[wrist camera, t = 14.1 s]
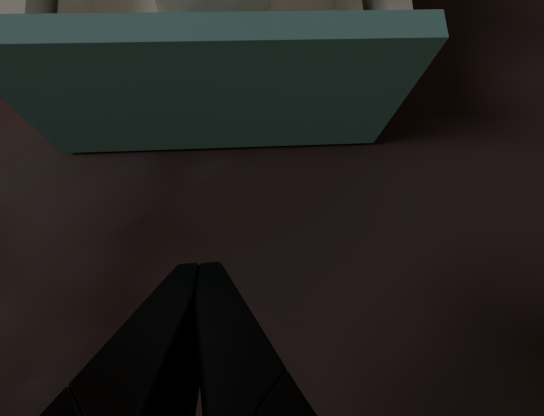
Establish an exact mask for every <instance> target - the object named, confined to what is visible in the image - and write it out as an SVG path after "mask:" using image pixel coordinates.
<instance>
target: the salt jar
mask: <svg viewBox="0 0 544 416" xmlns="http://www.w3.org/2000/svg"><path fill="white" fill-rule="evenodd" d="M155 4H156V7H157V11H158V12H232V11H271V0H155Z"/></svg>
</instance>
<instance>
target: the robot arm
mask: <svg viewBox="0 0 544 416" xmlns="http://www.w3.org/2000/svg"><path fill="white" fill-rule="evenodd" d="M199 388H200V391H201V403H202V414H203V416H317V415H316V413H315V412H314V411H313V409H312V408H311V406H310V405H309V403H308V402H307V400H306V399H305V397H304V396H303V394H302V393H301V391H300V390H299V388H298V387H297V385H296V383H295V382H294V380H293V378H292V377H291V375H290V374H289V372H287V370H286V368H285V366H284V364H283V363H282V361H281V359H280V358H279V356H278V355H277V353H276V351H275V350H274V348H273V346H272V345H271V343H270V342H269V340H268V338H267V337H266V335H265V333H264V332H263V330H262V329H261V327H260V325H259V324H258V322H257V320H256V319H255V317H254V316H253V314H252V312H251V311H250V309H249V307H248V306H247V304H246V303H245V301H244V299H243V298H242V296H241V294H240V293H239V291H238V290H237V288H236V286H235V285H234V283H233V282H232V280H231V278H230V277H229V275H228V273H227V272H226V270H225V269H224V267H223V265H222V264H221V263H220V262H207V263H201V264H200V266H199V265H198V264H197V263H188V264H179V265H177V266H176V267H175V268H174V269H173V270H172V271H171V272H170V274H169V275H168V276H167V277H166V278H165V279H164V280H163V281H162V282H161V283H160V285H159V286H158V287H157V288H156V289H155V290H154V291H153V292H152V293H151V294H150V296H149V297H148V298H147V299H146V300H145V301H144V302H143V303H142V304H141V305H140V306H139V308H138V309H137V310H136V311H135V312H134V313H133V314H132V315H131V316H130V317H129V319H128V320H127V321H126V322H125V323H124V324H123V325H122V326H121V327H120V328H119V330H118V331H117V332H116V333H115V334H114V335H113V336H112V337H111V338H110V339H109V340H108V342H107V343H106V344H105V345H104V346H103V347H102V348H101V349H100V350H99V351H98V353H97V354H96V355H95V356H94V357H93V358H92V359H91V360H90V361H89V362H88V364H87V365H86V366H85V367H84V368H83V369H82V370H81V371H80V372H79V373H78V374H77V376H76V377H75V378H74V379H73V380H72V381H71V382H70V383H69V387H66V388H64V390H63V391H62V392H61V393H60V394H59V395H58V396H57V397H56V398H55V399H54V401H53V402H52V403H51V404H50V405H49V406H48V407H47V408H46V409H45V410H44V411H43V412H42V413H41V414H40V415H39V416H195V414H196V408H197V401H198V395H199Z"/></svg>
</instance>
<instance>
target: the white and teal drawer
mask: <svg viewBox="0 0 544 416" xmlns="http://www.w3.org/2000/svg"><path fill="white" fill-rule="evenodd" d="M448 38H449V35H448V30H447V25H446V19H445V14H444V9H427V10H363V4H362V0H271V11H232V12H158V11H157V7H156V4H155V0H58V12H57V13H37V14H0V97H1V98H2V99H3V100H4V101H5V102H7V103H8V104H9V105H10V106H11V107H12V108H13V109H14V110H15V111H16V112H17V113H19V114H20V115H21V116H22V117H23V118H24V119H25V120H26V121H27V122H28V123H29V124H31V125H32V126H33V127H34V128H35V129H36V130H37V131H38V132H39V133H40V134H42V135H43V136H44V137H45V138H46V139H47V140H48V141H49V142H50V143H51V144H52V145H54V146H55V147H56V148H57V149H58V150H59V151H60V152H61V153H80V152H110V151H141V150H171V149H202V148H233V147H263V146H294V145H325V144H355V143H374V142H375V140H376V139H377V137H378V136H379V135H380V133H381V132H382V130H383V129H384V128H385V126H386V125H387V123H388V122H389V121H390V119H391V118H392V116H393V115H394V114H395V112H396V111H397V109H398V108H399V107H400V105H401V104H402V102H403V101H404V100H405V98H406V97H407V95H408V94H409V93H410V91H411V90H412V88H413V87H414V86H415V84H416V83H417V81H418V80H419V79H420V77H421V76H422V74H423V73H424V72H425V70H426V69H427V67H428V66H429V65H430V63H431V62H432V60H433V59H434V57H435V56H436V55H437V53H438V52H439V50H440V49H441V48H442V46H443V45H444V43H445V42H446V41H447V39H448Z"/></svg>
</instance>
